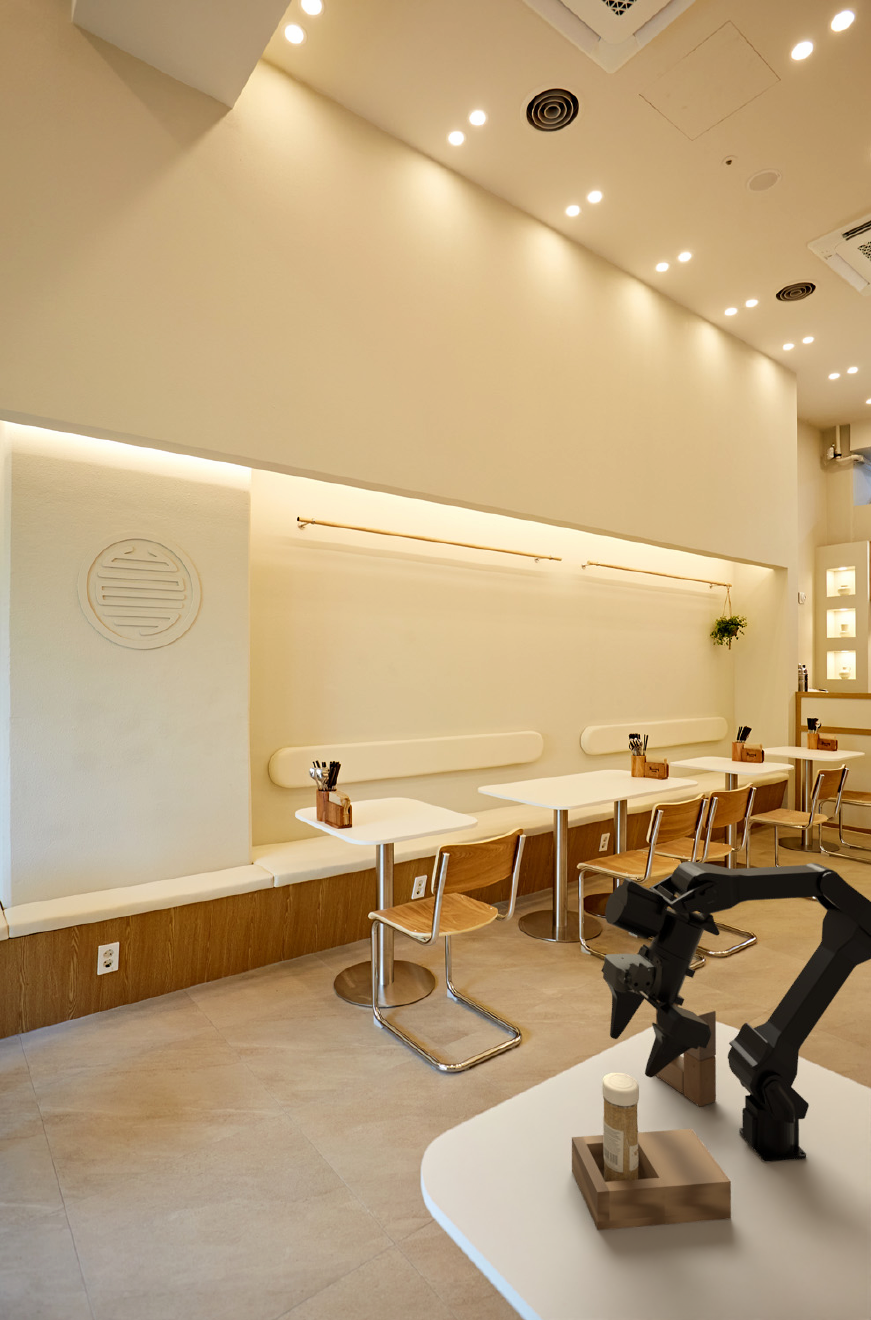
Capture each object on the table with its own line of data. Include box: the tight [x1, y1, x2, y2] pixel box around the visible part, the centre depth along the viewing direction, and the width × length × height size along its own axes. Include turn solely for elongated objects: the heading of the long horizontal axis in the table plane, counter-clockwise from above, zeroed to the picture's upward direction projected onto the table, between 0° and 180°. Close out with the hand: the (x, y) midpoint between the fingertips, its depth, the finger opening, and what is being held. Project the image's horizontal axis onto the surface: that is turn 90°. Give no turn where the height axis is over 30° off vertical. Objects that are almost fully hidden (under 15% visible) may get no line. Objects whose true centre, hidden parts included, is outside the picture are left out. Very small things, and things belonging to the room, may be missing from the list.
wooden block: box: [655, 1000, 717, 1108], centre depth 113 cm, size 4×11×18 cm, turn 26°
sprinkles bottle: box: [601, 1072, 640, 1182], centre depth 89 cm, size 5×5×13 cm
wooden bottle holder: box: [571, 1128, 732, 1231], centre depth 89 cm, size 17×10×4 cm, turn 96°
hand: (629, 1056), depth 97 cm, fingers open, 9 cm apart
